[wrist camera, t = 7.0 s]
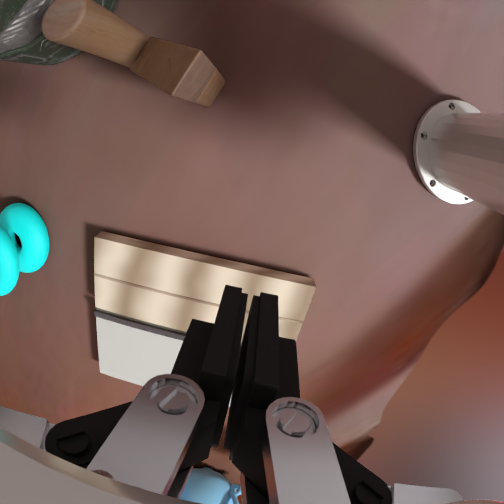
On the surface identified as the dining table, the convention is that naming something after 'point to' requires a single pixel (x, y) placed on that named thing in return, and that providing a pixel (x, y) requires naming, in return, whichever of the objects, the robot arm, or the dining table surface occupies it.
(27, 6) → the canister
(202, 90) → the wooden block
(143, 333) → the board
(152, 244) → the plank
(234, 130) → the dining table surface
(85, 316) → the dining table surface
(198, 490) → the decorative pot
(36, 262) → the donuts
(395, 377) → the dining table surface
